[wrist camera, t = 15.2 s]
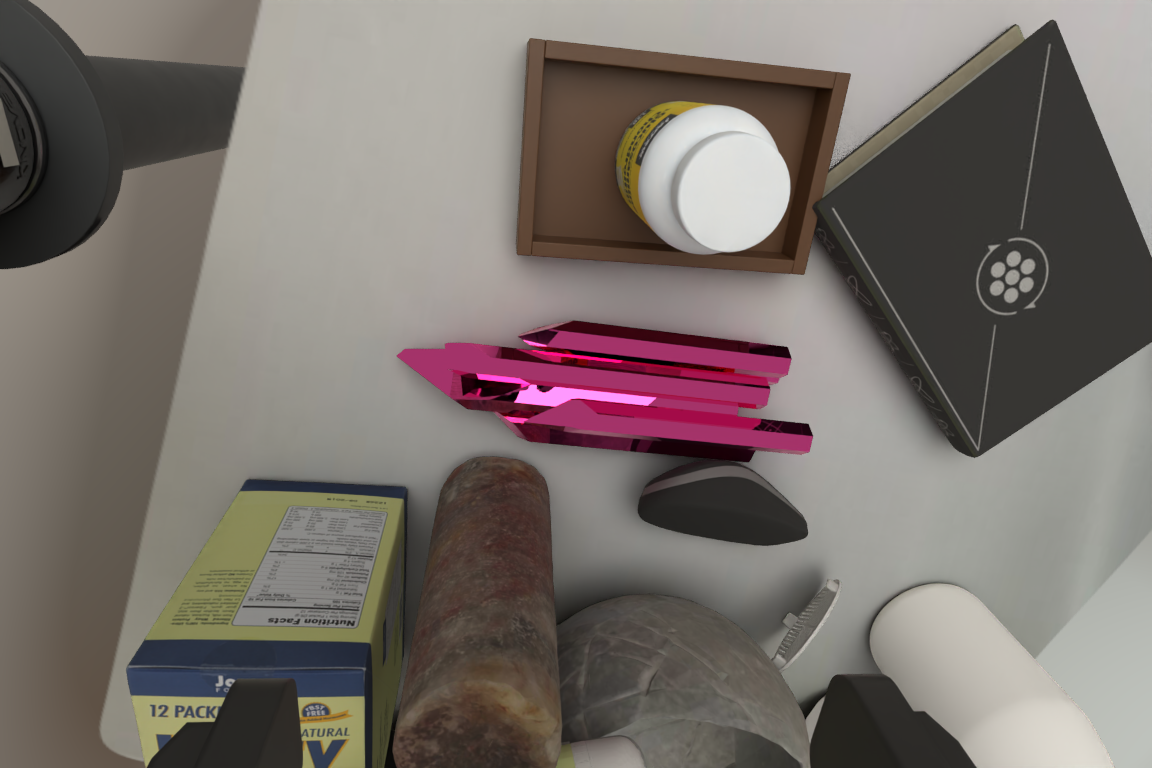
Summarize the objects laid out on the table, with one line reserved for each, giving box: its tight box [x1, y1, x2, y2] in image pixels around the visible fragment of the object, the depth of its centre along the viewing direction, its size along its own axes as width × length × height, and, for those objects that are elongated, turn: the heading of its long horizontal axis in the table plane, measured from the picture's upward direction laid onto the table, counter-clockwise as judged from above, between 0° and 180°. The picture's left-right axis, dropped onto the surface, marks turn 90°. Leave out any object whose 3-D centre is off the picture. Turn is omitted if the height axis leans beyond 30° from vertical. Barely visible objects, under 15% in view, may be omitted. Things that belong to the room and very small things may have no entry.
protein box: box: [126, 480, 407, 768], centre depth 40 cm, size 10×16×16 cm
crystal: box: [397, 321, 813, 462], centre depth 40 cm, size 8×6×25 cm
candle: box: [393, 457, 562, 768], centre depth 37 cm, size 8×7×20 cm
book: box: [812, 20, 1152, 458], centre depth 41 cm, size 22×15×3 cm
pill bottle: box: [615, 101, 790, 255], centre depth 32 cm, size 6×6×12 cm
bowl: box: [556, 594, 811, 768], centre depth 46 cm, size 20×20×15 cm
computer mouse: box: [638, 460, 808, 546], centre depth 45 cm, size 7×12×4 cm
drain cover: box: [771, 579, 842, 673], centre depth 49 cm, size 8×8×1 cm
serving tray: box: [516, 38, 851, 275], centre depth 37 cm, size 17×11×3 cm, turn 85°
